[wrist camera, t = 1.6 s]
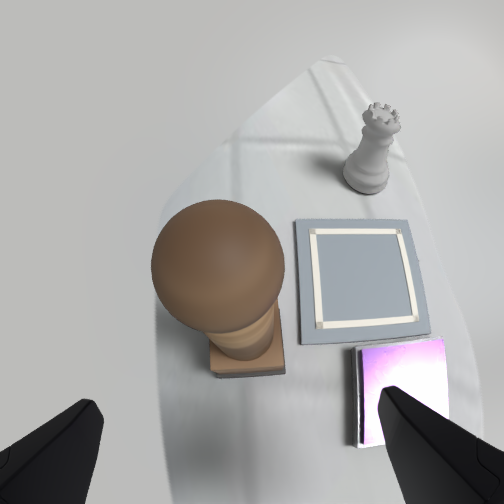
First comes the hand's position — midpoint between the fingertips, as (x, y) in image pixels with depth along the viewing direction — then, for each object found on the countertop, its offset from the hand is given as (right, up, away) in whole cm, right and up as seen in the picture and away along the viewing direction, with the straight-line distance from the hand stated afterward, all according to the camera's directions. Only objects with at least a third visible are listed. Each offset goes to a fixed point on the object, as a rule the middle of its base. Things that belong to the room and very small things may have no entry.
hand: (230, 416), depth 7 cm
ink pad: (+11, -5, +9) cm, 15 cm away
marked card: (+9, +3, +14) cm, 17 cm away
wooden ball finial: (+1, -2, +12) cm, 12 cm away
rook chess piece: (+11, +12, +19) cm, 25 cm away
